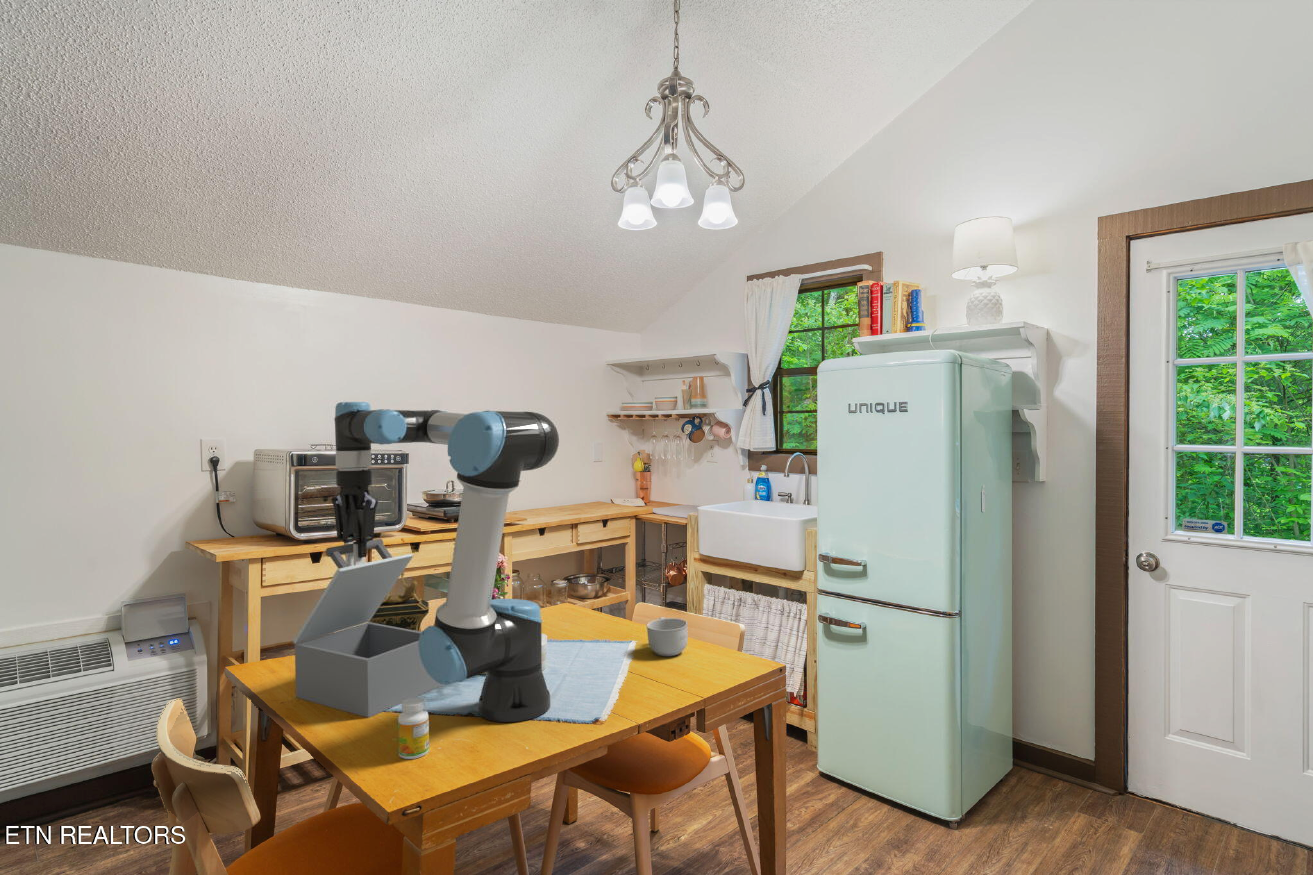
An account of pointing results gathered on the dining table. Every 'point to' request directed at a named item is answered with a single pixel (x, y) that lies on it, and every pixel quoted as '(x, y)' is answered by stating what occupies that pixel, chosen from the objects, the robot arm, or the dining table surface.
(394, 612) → the decorative box
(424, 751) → the supplement bottle
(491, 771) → the dining table surface
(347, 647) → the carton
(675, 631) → the teacup
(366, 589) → the lid flap
